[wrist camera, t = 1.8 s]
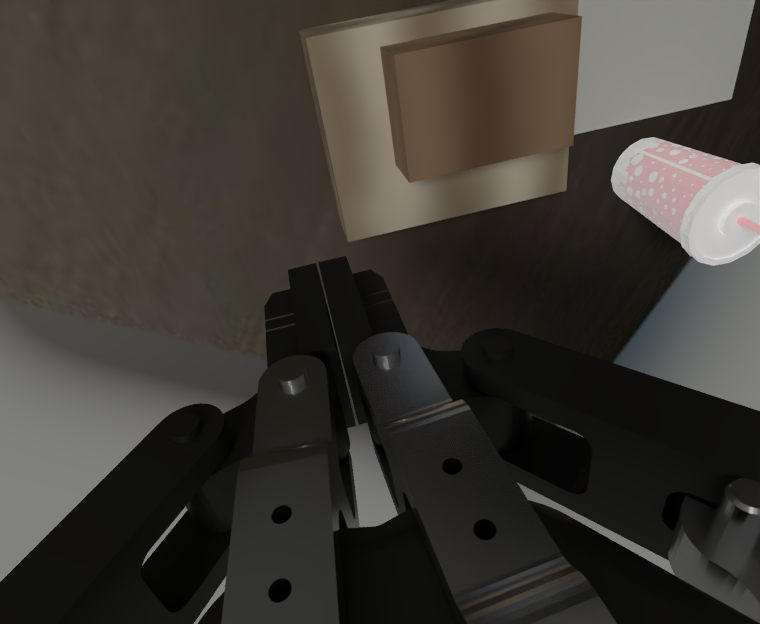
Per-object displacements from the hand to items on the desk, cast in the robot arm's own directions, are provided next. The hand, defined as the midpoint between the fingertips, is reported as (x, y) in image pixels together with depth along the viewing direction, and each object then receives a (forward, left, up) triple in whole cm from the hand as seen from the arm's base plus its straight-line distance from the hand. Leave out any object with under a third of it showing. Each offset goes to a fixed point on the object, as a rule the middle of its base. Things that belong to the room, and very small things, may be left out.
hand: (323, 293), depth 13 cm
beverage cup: (-24, +9, -20) cm, 33 cm away
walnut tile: (-10, 0, -16) cm, 19 cm away
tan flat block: (-9, +1, -20) cm, 22 cm away
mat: (-23, 0, -20) cm, 31 cm away
